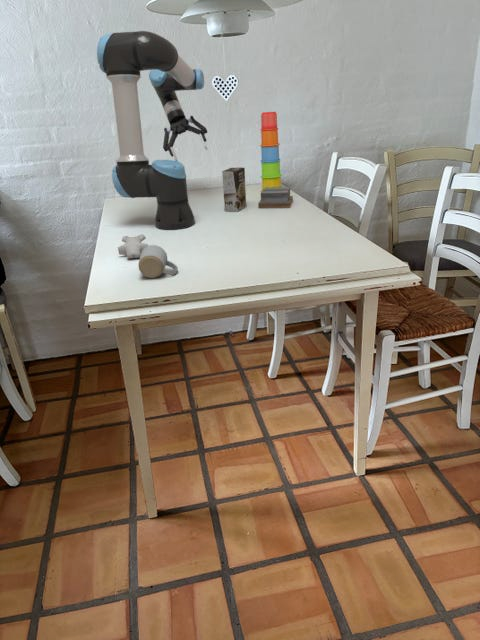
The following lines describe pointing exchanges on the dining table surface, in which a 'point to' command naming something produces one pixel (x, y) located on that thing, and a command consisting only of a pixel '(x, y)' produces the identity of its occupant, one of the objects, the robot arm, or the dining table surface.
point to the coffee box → (234, 189)
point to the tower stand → (275, 197)
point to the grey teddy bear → (132, 246)
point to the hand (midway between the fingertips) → (191, 154)
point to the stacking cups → (270, 151)
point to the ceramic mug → (155, 262)
